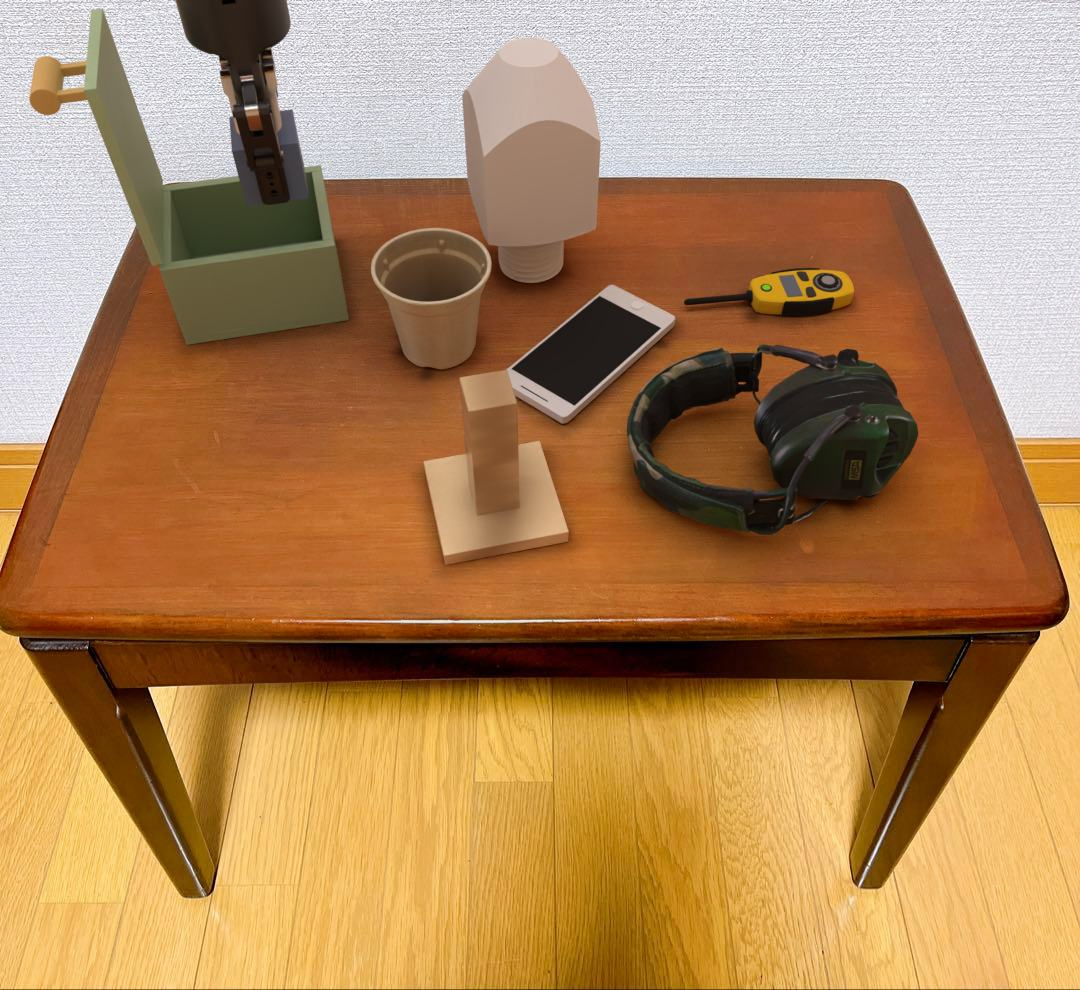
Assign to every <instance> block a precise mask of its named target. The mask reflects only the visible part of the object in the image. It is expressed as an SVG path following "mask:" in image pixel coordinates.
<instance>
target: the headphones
mask: <svg viewBox="0 0 1080 990" xmlns="http://www.w3.org/2000/svg"><path fill="white" fill-rule="evenodd" d="M763 354H765V355H772V356H775V357H776V358H777V357H780V358H781V357H782V358H785V359H786V358H787V359H791V360H793V361H796V362H800V363H801V364H807V366H804V367H803V368H801V369H798V370H797V371H795V372H793V373H792V374H790V375H789V376H787V377H786V378H784V379H783V380H782V381H779V382H778V383H777V384H775V385H774V386H773V387H772V388H771V389H770V390H769V392H768V393H767V394H766V395H765V396H764V397H763V399H760V398H759V397H758V396H757V394H756V393H758V392H759V391H760V379H759V376H760V373H761V370H762V368H763V367H762V366H763ZM751 392H752V395H753V398H754V400H755V401H756V402H757V404H758V406H757V407H756V410H755V413H754V414H755V415H754V418H753V429H754V433H755V435H756V437H757V439H758V441H759V443H760V444H761V445H763V446H764V447H765V449H766V451H767V454H768V457H769V468H770V472H771V475H772V478H773V480H774V482H775V483H776V484H777V485H778V486H779V488H777V489H767V490H766V489H765V490H754V489H753V488H751V487H743V488H739V487H733V486H724V485H714V484H706V483H705V482H702V481H700V480H699V479H697V478H694V477H689V476H685V475H683V474H681V473H678V472H675V471H673V470H672V469H670V467H668V466H667V465H666V464H664V463H661V462H660V461H658V460H657V459H656V458H655V454H654V450H653V447H652V444H653V443H654V441H656V439H657V437H658V436H660V434H661V433H662V432H663V431H664V429H666V427H667V426H668V425H669V424H670V423H671V421H673V420H675V421H676V420H677V419H678V418H680V417H682V415H683V414H684V412H687V411H689V410H691V409H693V408H700V407H701V408H702V407H707V406H712V405H717V404H720V403H724V402H729V401H730V400H732V399H736V396H737V395H739V394H741V393H751ZM626 437H627V444H628V449H629V452H630V456H631V458H632V461H633V462H632V463H633V470H634V473H635V475H636V478H637V480H638V482H639V485H640V487H641V489H642V491H644V492H645V493H646V494H647V495H649V496H650V497H652V498H653V499H654V500H655V501H656V502H657V503H659V504H660V505H662V506H663V507H664V508H665V509H666V510H668V511H670V512H672V513H676V514H679V515H681V516H684V517H687V518H688V519H691V520H694V521H696V522H699V523H701V524H703V525H705V526H706V525H707V526H711V527H716V528H721V529H726V530H731V531H732V530H733V531H739V532H743V533H750V532H752V533H754V534H757V535H760V536H773V535H775V534H777V533H778V532H780V531H781V530H782V529H784V528H785V527H786V526H790V525H793V524H794V523H797V522H799V521H801V520H804V519H805V518H808V517H809V516H811V515H812V514H813V513H814V512H816V511H817V510H819V509H820V508H821V507H822V506H823V505H825V503H827V502H828V501H829V500H838V501H839V500H840V501H857V500H858V499H859V498H860V497H861V498H863V499H866V500H869V499H874V498H876V496H877V495H878V494H879V493H881V492H882V490H883V489H884V488H885V487H886V486H887V484H888V483H889V482H890V481H891V480H892V478H893V477H894V476H895V475H896V473H897V472H898V471H899V470H900V468H901V467H902V466H903V464H904V463H905V462H906V460H907V459H908V458H909V457H910V456H911V454H912V451H913V449H914V447H915V445H916V444H917V441H918V437H919V427H918V423H917V421H916V420H915V418H914V416H913V415H912V414H911V412H909V410H907V409H905V407H904V405H903V403H902V402H901V400H900V399H899V397H898V389H897V386H896V384H895V382H894V381H893V378H892V377H891V376H890V375H889V373H888V372H887V370H886V369H885V368H883V367H882V366H881V365H879V364H878V363H876V362H873V361H872V362H869V361H865V360H861V359H859V352H858V350H857V349H854V348H845V349H842V350H840V351H839V352H838V354H837V356H836V355H835V354H834V353H833V354H828V355H824V356H823V355H821V354H819V353H816V352H813V351H810V350H805V349H801V348H796V347H791V346H786V345H781V344H774V345H772V344H771V345H770V344H764V343H763V344H759V345H758V347H757V349H756V351H755V352H729V350H725V349H724V348H723V347H719V348H714V349H711V350H707V351H703V352H700V353H698V354H695V355H692V356H691V355H690V356H689V357H686V358H683V359H681V360H679V361H676V362H674V363H672V364H669V365H667V366H666V367H665V368H663V369H662V370H661V371H659V372H658V373H656V374H654V376H652V377H651V378H650V379H649V380H648V381H647V382H646V383H645V384H644V385H643V387H642V388H641V389H640V390H639V392H638V394H637V396H636V397H635V399H634V401H633V404H632V405H631V408H630V409H629V413H628V416H627V421H626ZM798 496H799V497H801V498H802V497H803V498H806V499H816V500H817V499H819V500H821V501H820V502H819V503H817V504H815V505H814V506H812V507H811V508H810V509H808V510H807V511H805V512H803V513H800V514H799V515H797V516H796V505H795V503H796V502H797V498H798Z"/></svg>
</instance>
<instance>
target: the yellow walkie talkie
mask: <svg viewBox="0 0 1080 990" xmlns="http://www.w3.org/2000/svg"><path fill="white" fill-rule="evenodd" d="M854 294H855V287H854V284H853V281H852V280H851V278H850V277H849V275H848V274H847V273H845V272H844V271H841V270H830V269H820V268H819V267H799V268H797V267H796V268H788V269H781V270H776V271H773V272H771V273H770V274H765V275H762V276H759V277H755V278H753V279H751V281H750V283H749V286H748V289H747V290H746V292H745V293H738V294H737V293H736V294H726V295H725V294H724V295H714V296H703V297H690V298H686V299H684V301H683V304H684V305H685V306H695V305H707V304H717V303H730V302H742V301H746V302H747V303H748V304H750V306H751V307H752V309H753V310H754V311H755V312H756V313H759V314H766V315H780V316H781V317H809V316H810V317H811V316H817V315H822V314H827V313H831V312H832V311H833V310H836V309H840V308H844V307H846V306H849V305H850V304H851V303H852V301H853V297H854Z"/></svg>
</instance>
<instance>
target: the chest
mask: <svg viewBox="0 0 1080 990" xmlns="http://www.w3.org/2000/svg"><path fill="white" fill-rule="evenodd" d="M304 168H305V175H306V181H307V187H308V194H309V198H307V199H300V200H293V201H288V202H286V203H280V204H273V205H266V204H263V205H256V206H249V207H247V206H246V203H245V199H244V195H243V191H242V188H241V184H240V180H239V176H238V175H235V176H234V175H233V176H227V177H219V178H211V179H204V180H196V181H188V182H180V183H174V184H165V185H164V184H163V264H162V265H159V272H160V275H161V279H162V281H163V284H164V286H165V289H166V292H167V294H168V298H169V300H170V304H171V306H172V309H173V311H174V314H175V317H176V319H177V322H178V325H179V328H180V330H181V334H182V336H183V339H184V341H185V344H186V345H187V346H189V345H196V344H202V343H209V342H215V341H222V340H227V339H233V338H240V337H248V336H254V335H260V334H261V335H262V334H268V333H275V332H279V331H280V332H281V331H286V330H287V331H288V330H293V329H299V328H300V329H301V328H306V327H313V326H319V325H326V324H332V323H339V322H346V321H349V320H350V316H349V311H348V304H347V299H346V294H345V288H344V282H343V277H342V272H341V270H342V269H341V265H340V259H339V254H338V248H337V243H336V237H335V232H334V227H333V222H332V216H331V211H330V207H329V201H328V196H327V190H326V186H325V185H326V184H325V178H324V174H323V169H322V165H321V164H318V165H311V166H304Z"/></svg>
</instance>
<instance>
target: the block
mask: <svg viewBox="0 0 1080 990" xmlns="http://www.w3.org/2000/svg"><path fill="white" fill-rule="evenodd" d="M280 114H281V119H282V128H281V129H280V130H279V131H278V132H277V133H278V138H279V143H280V148H281V150H283V153H284V157H283V158H284V162H283V167H284V171H285V176H286V180H287V185H288V189H289V195H290V200H289V201H293V200H300V199H307V198H309V194H308V187H307V181H306V175H305V168H304V167H305V163H304V158H303V153H302V148H301V143H300V139H299V135H298V129H297V123H296V120H295V119H296V118H295V114H294V109H285V110H280ZM271 115H273V113H271ZM228 119H229V120H228V121H229V132H230V147H231V154H232V158H233V161H234V164H235V165H234V166H235V169H236V173H237V176H239V180H240V184H241V188H242V191H243V195H244V199H245V203H246V206H247V207H249V206H256V205H263V204H264V203H263V202H262V199H261V195H260V191H259V187H258V183H257V179H256V175H255V171H252V172H251V171H250V168H249V167H247V162H246V160H247V157H246V154H245V150H244V147H243V143H242V139H241V136H240V135H239V134H238V133H237V131H236V128H235V124H234V119H233V116H229V117H228Z"/></svg>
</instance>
